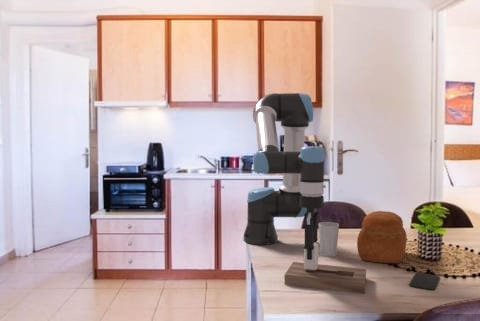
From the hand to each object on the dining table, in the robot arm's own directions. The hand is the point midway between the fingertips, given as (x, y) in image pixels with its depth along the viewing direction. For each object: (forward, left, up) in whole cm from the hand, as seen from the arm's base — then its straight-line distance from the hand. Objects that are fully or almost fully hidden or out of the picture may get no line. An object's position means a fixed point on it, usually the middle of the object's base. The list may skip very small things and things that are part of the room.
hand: (310, 266), depth 138 cm
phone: (-10, +35, -5) cm, 37 cm away
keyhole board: (0, +5, -4) cm, 7 cm away
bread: (-36, +22, -5) cm, 42 cm away
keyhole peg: (0, 0, -4) cm, 4 cm away
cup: (-32, +2, -5) cm, 32 cm away
